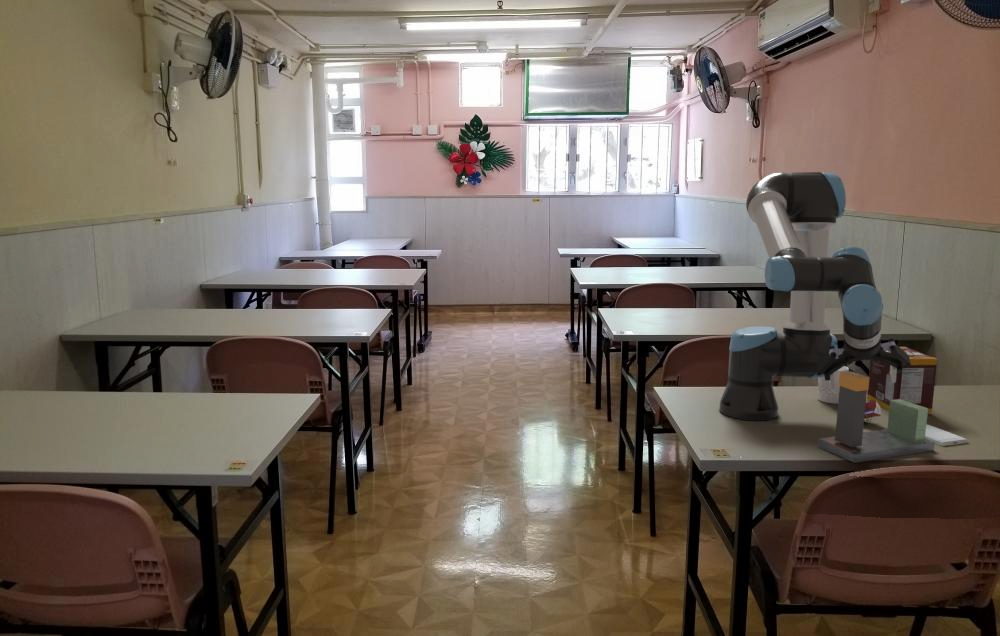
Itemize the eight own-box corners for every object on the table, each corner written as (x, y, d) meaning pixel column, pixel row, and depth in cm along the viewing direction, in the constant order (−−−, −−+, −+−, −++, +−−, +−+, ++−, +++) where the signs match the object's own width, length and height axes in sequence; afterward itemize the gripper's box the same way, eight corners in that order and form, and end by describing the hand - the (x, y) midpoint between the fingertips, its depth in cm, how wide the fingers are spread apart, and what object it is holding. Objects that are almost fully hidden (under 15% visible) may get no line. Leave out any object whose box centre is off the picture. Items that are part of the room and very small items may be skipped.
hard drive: (900, 426, 190) (942, 441, 178) (925, 423, 192) (968, 438, 181) (900, 432, 190) (941, 448, 178) (925, 429, 193) (968, 444, 181)
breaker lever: (851, 447, 170) (857, 378, 167) (833, 439, 175) (839, 372, 172) (862, 445, 171) (869, 377, 168) (845, 438, 176) (851, 371, 173)
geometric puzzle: (842, 415, 195) (864, 394, 191) (842, 408, 201) (864, 387, 198) (864, 434, 193) (887, 413, 190) (864, 426, 199) (886, 406, 196)
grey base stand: (853, 462, 167) (857, 420, 166) (818, 446, 178) (821, 406, 176) (933, 450, 175) (938, 409, 174) (895, 435, 186) (899, 396, 184)
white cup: (810, 397, 219) (813, 363, 217) (836, 396, 220) (839, 363, 218) (825, 404, 211) (828, 370, 209) (851, 404, 212) (854, 370, 210)
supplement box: (900, 398, 218) (905, 346, 215) (932, 414, 203) (938, 358, 200) (865, 398, 218) (870, 346, 215) (894, 414, 202) (900, 358, 200)
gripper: (804, 357, 168) (809, 399, 184) (929, 343, 159) (922, 388, 176) (799, 329, 172) (805, 373, 188) (921, 313, 164) (915, 361, 180)
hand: (861, 380), depth 182 cm, fingers open, 13 cm apart
